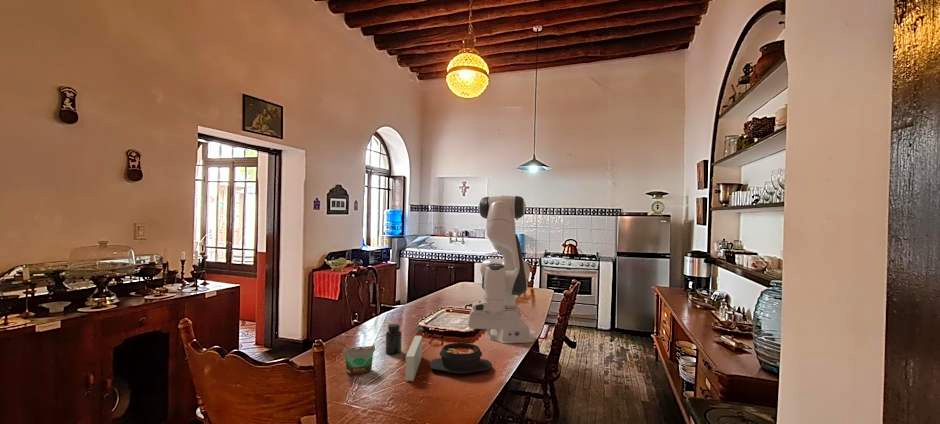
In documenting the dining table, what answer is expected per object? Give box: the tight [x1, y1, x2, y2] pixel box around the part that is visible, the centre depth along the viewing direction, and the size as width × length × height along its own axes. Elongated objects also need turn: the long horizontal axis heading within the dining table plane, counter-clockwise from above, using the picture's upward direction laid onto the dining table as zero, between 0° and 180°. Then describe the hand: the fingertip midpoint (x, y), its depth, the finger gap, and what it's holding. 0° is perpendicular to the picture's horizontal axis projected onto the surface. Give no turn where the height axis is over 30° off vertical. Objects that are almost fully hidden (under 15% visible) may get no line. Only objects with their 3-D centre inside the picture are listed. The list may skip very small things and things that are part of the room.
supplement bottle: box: [385, 323, 403, 356], centre depth 193 cm, size 7×7×12 cm
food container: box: [342, 343, 376, 377], centre depth 168 cm, size 12×6×10 cm, turn 117°
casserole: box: [428, 342, 493, 375], centre depth 174 cm, size 25×19×8 cm
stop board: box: [404, 335, 423, 382], centre depth 175 cm, size 3×26×9 cm, turn 0°
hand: (493, 340), depth 174 cm, fingers closed
